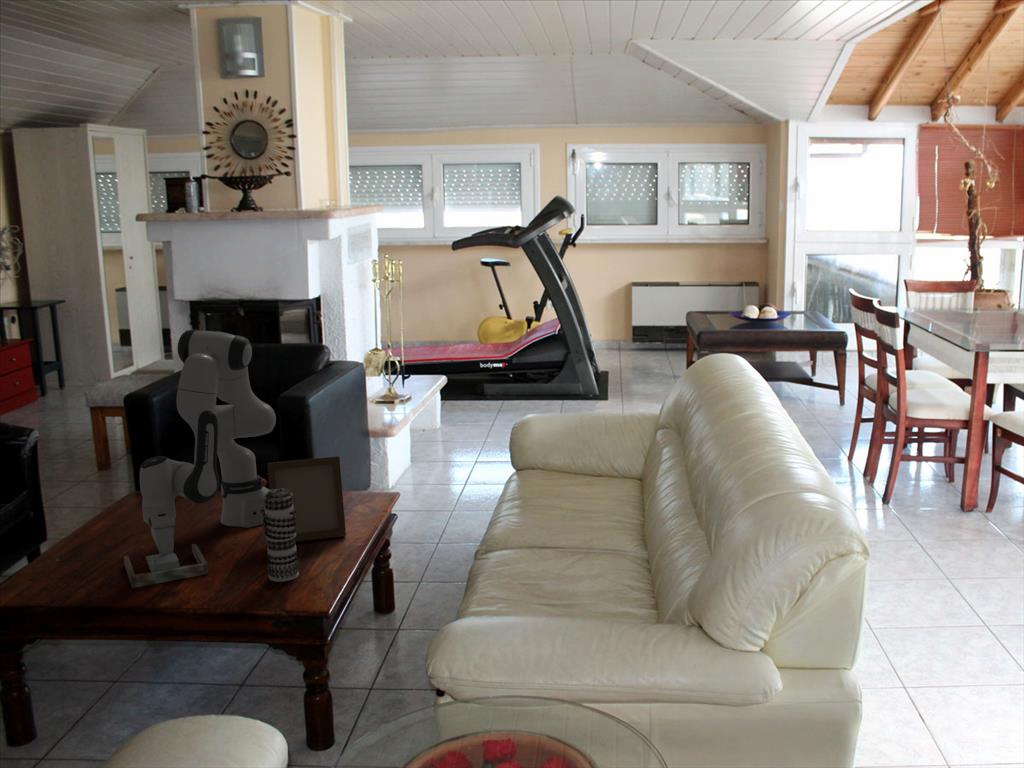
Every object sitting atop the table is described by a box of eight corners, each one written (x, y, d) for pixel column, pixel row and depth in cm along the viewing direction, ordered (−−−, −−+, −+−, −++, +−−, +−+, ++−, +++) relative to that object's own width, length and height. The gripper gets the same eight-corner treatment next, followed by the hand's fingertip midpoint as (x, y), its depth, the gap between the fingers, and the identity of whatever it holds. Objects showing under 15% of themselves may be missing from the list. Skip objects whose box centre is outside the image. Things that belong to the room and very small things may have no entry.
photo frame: (346, 538, 308) (341, 460, 303) (274, 547, 302) (268, 467, 297) (341, 524, 322) (336, 449, 317) (272, 532, 316) (266, 456, 312)
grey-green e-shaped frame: (194, 548, 303) (193, 539, 302) (208, 574, 282) (207, 564, 282) (123, 560, 294) (122, 551, 293) (132, 588, 273) (131, 578, 273)
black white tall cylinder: (286, 567, 286) (280, 483, 281) (307, 574, 280) (301, 489, 275) (260, 577, 279) (253, 491, 274) (281, 584, 273) (274, 497, 268)
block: (176, 566, 288) (175, 553, 287) (179, 573, 283) (178, 560, 282) (154, 570, 285) (153, 557, 285) (157, 577, 280) (156, 564, 279)
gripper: (143, 505, 293) (147, 549, 295) (152, 525, 275) (157, 572, 277) (165, 501, 295) (169, 545, 298) (176, 521, 277) (180, 568, 280)
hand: (163, 558), depth 288 cm, fingers closed
